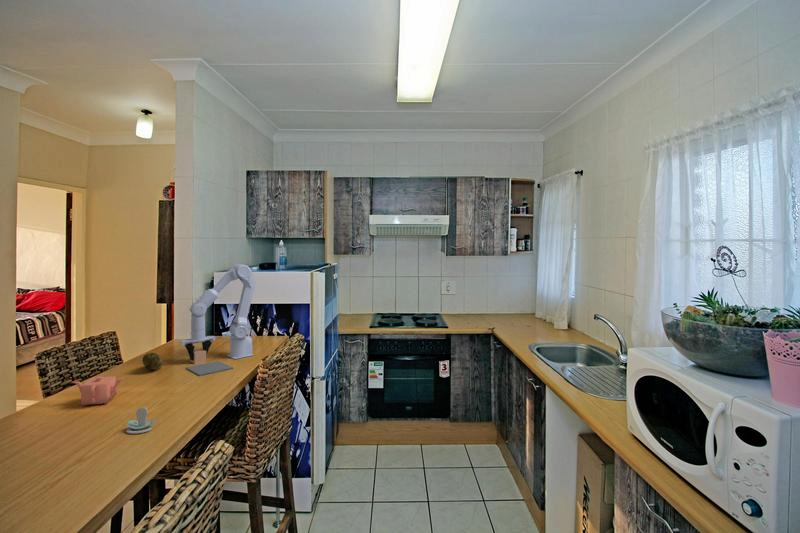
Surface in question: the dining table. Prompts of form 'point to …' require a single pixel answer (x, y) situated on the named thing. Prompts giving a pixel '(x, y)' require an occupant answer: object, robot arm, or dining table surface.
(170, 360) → the dining table surface
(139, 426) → the pacifier
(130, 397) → the dining table surface
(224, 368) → the mat
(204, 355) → the cube
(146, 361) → the potato
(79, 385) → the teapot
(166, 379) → the dining table surface
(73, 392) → the dining table surface
